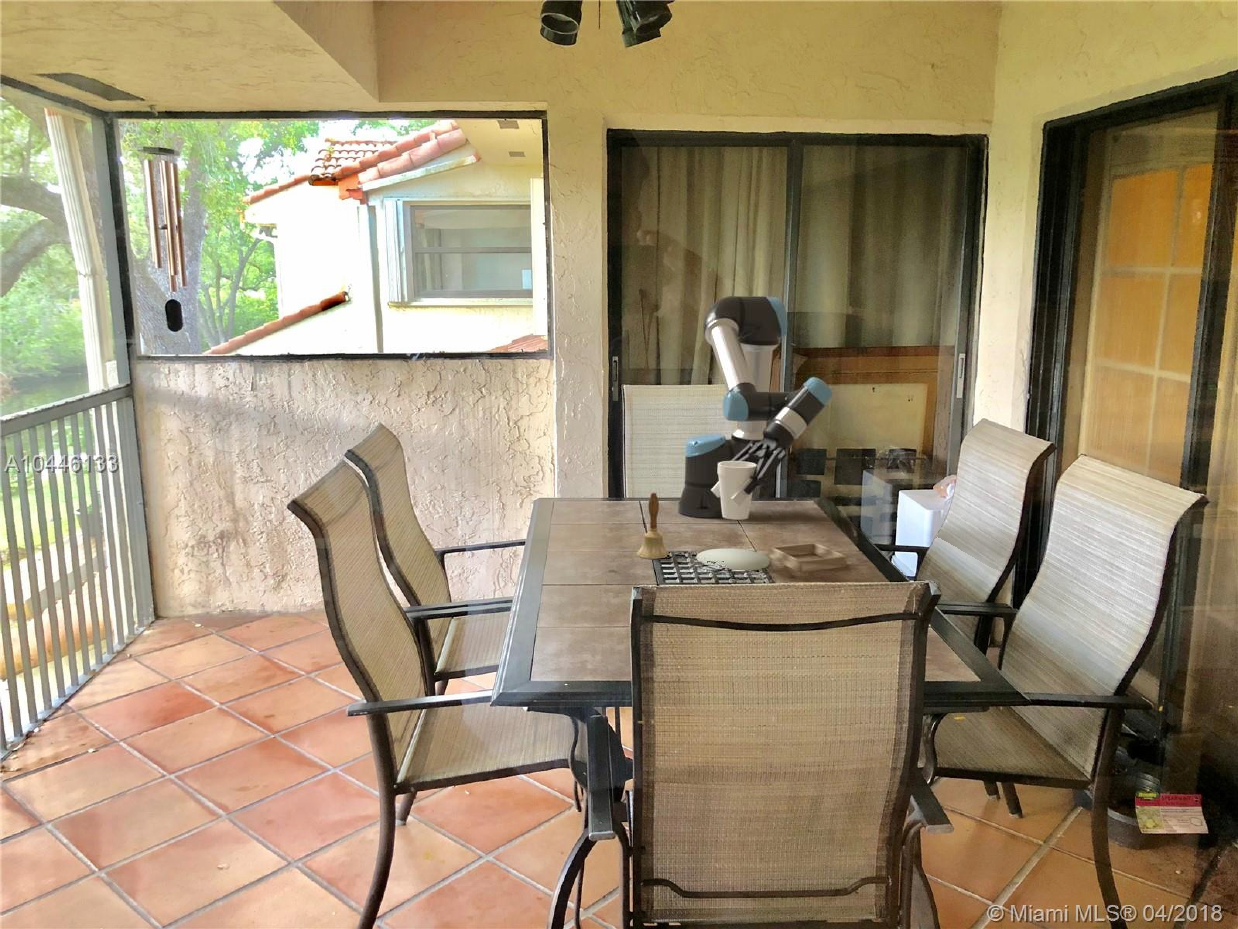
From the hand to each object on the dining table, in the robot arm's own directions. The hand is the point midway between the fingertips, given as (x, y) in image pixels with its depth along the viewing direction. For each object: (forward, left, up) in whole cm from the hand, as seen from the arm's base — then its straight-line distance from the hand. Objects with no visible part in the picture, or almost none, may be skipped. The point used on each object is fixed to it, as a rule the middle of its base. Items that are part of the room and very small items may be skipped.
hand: (724, 498), depth 219 cm
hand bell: (-15, -9, -16) cm, 24 cm away
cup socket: (+13, +17, -16) cm, 27 cm away
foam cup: (+1, +3, -5) cm, 6 cm away
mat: (+1, +3, -16) cm, 16 cm away
